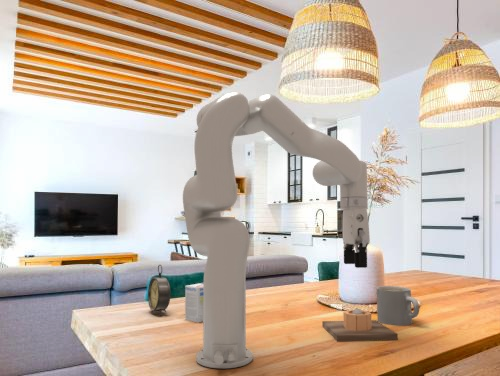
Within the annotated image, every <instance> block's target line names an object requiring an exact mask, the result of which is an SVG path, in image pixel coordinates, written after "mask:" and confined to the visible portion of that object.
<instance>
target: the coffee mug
mask: <svg viewBox="0 0 500 376" xmlns="http://www.w3.org/2000/svg"><path fill="white" fill-rule="evenodd" d="M412 306H413V307H412ZM412 308H413V311H412ZM376 311H377V312H376V314H377V317H376V319H377V321H378V322H379V323H381V324H382V325H388V326H389V325H390V326H396V327H397V326H399V327H400V326H403V327H404V326H405V327H406V326H409V325H412V323H413V320H412V319H414V318H416V317H418V315H419V313H420V304H419V301H418V299H416V298H415V297H413V296H412V289H411V288H409V287H405V286H397V285H395V286H394V285H383V286H377V287H376Z"/></svg>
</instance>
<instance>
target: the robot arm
mask: <svg viewBox="0 0 500 376" xmlns="http://www.w3.org/2000/svg"><path fill="white" fill-rule="evenodd" d="M196 126H197V129H196V134H195V138H194V145H193V146H194V159H195V170H196V171H195V172H196V174H195V175H192V176H191V177H190V178H189V179H188V180H187V182H185V185H184V187H183V190H182V191H183V192H182V204H183V212H184V218H185V226H186V231H187V232H186V233H187V239H188V241H189V245H190V246H191V248H192V250H193V251H194V252H196V254H198V255H200V256H203V257H207V259H206V262H205V266H204V270H203V271H204V272H203V283H204V284H203V289H204V302H203V326H202V327H203V329H202V331H203V332H202V336H203V337H202V340H203V341H202V349H200V350H198V352H197V353H196V354H195V360H196V363H198V364H199V365H200V366H203V367H206V368H211V369H234V368H239V367H242V366H243V367H244V366H245V365H248V364H250V363H251V362H253V358H254V356H253V355H254V354H253V352H252V351H251V350H250V349H248V348H246V347H247V346H246V345H247V343H246V342H247V341H246V339H247V334H246V333H247V328H246V325H247V321H246V319H247V317H246V316H247V310H246V309H247V304H246V303H247V301H246V300H247V297H246V296H247V293H246V292H247V290H246V285H247V284H246V278H247V276H246V275H247V262H248V257H249V256H248V255H249V249H250V241H251V240H250V239H251V238H250V234H249V230H248V228H247V226H246V225H245V224H244V223H243V222H242V221H240V220H239V219H238V218H234V217H231V216H221V215H222V214H221V212H224V211H228V210H229V209H231V208H233V206H234V205H235V204H236V203H237V199H238V187H237V186H238V185H237V181H236V175H235V167H234V158H233V141H234V139H235V137H243V136H248V135H249V136H250V135H254V134H257V133H260V132H263V133H265V134H266V135H267V136H268V137H270V138H271V139H272V140H273V141H275V142H276V143H277V145H279V147H281V148H282V149H284V151H286V152H287V153H289V154H291V155H295V156H299V157H304V158H311V159H313V160H314V159H316V160H318V162H316V164H315V165H314V166H313V168H312V177H313V179H314V181H315V182H316V183H317V184H319V185H320V186H324V187H325V186H326V187H331V186H339V189H340V190H339V191H340V192H339V195H340V197H339V198H340V199H339V202H340V203H339V204H340V205H339V206H340V210H342V211H343V212H342V232H341V233H342V241H343V248H342V249H343V263H344V264H345V265H354V267H355V268H356V269H359V268H362V269H363V268H365V269H366V268H368V248H367V247H368V245H369V244H370V243H371V241H370V240H371V239H370V224H369V215H368V209H369V208H368V207H369V206H368V205H369V202H368V200H369V199H368V165H367V162H366V161H364V160H360V159H359V158H358V156H357V155H356V153H354V152H353V151H352V150H351V149H350V148H349V147H348V146H347V144H345V143H343V142H342V141H341V140H339V139H337V138H336V137H333V136H331V135H329V134H326V133H323V132H322V131H319V130H316V129H314V128H312V127H310V126H308V125H307V123H305V122H304V121H303V120H302V119H301V118H300V117H299V116H298V115H296V114H295V113H294V111H292V109H290V108H289V107H288V106H287V105H286V104H285V103H284V102H283V101H282V100H281V99H280V98H278V97H277V96H275V95H273V94H270V93H269V94H268V93H267V94H262V95H259V96H256V97H254V98H252V99H250V100H248V98H247V97H246V96H245V95H244V94H243V93H241V92H237V91H235V92H234V91H233V92H232V91H230V92H227V93H225V94H222V95H221V96H219V97H217V98H215V99H214V100H212V101H210V102H208V103H207V104H205V105H204V106H202V107H201V108H200V110H199V111H198V112H197V114H196Z"/></svg>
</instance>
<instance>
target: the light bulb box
mask: <svg viewBox="0 0 500 376" xmlns="http://www.w3.org/2000/svg"><path fill="white" fill-rule="evenodd" d="M203 284H204V282H201V283H199V282H198V283H195V284H194V283H193V284H190V285H189V284H187V285H185V291H184V292H185V294H184V295H185V298H184V300H185V301H184V303H185V304H184V305H185V307H184V312H185V313H184V317H185V318H184V320H185V321H189V322H194V323H199V324H200V323H202V322H203V302H204V289H203Z"/></svg>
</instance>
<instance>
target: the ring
mask: <svg viewBox="0 0 500 376" xmlns="http://www.w3.org/2000/svg"><path fill="white" fill-rule="evenodd" d="M353 310H354V309H346V310H344V311H343V314H342V315H343V321H344V327H345V328H346V329H350V330H355V331H367V330H369V329H372V321H371V320H372V312H370V311H368V310H364V309H360V310H361V311H362V312H363V314H352V311H353Z"/></svg>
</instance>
